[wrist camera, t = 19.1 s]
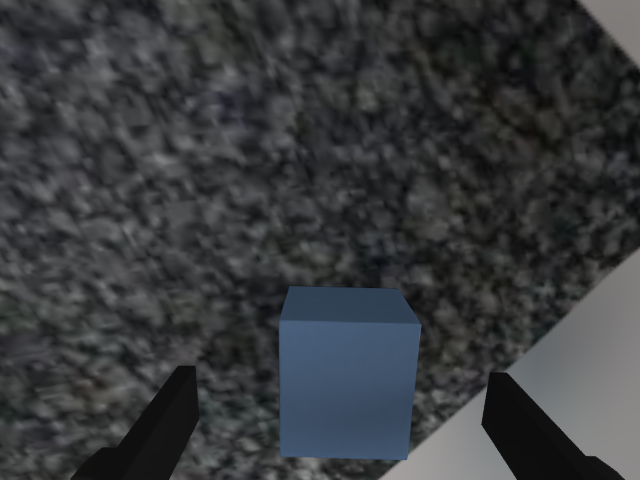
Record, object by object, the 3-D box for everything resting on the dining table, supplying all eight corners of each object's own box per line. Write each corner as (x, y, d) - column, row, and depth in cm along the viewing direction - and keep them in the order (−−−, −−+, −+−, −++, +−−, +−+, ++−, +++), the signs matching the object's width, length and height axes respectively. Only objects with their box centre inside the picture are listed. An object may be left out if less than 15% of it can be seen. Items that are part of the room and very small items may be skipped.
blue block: (398, 288, 16) (422, 324, 12) (389, 398, 18) (407, 460, 14) (289, 285, 16) (278, 320, 12) (289, 395, 18) (279, 457, 14)
